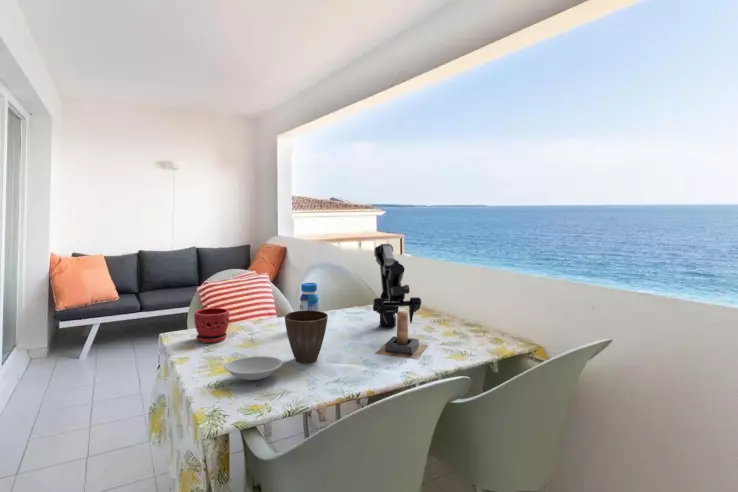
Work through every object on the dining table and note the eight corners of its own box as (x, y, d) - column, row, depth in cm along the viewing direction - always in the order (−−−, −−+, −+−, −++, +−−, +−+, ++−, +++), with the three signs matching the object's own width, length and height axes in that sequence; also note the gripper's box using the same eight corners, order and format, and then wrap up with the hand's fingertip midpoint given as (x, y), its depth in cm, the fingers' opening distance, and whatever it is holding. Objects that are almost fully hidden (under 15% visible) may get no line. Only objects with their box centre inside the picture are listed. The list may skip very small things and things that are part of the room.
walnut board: (374, 356, 154) (374, 353, 154) (388, 343, 169) (388, 340, 169) (417, 362, 148) (417, 359, 148) (428, 347, 163) (428, 345, 163)
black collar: (385, 352, 155) (385, 343, 155) (393, 343, 165) (393, 336, 164) (411, 355, 152) (411, 347, 152) (418, 346, 161) (418, 339, 161)
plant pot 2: (329, 352, 158) (329, 310, 156) (326, 367, 143) (326, 320, 141) (288, 353, 157) (288, 310, 156) (281, 368, 142) (281, 321, 141)
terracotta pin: (394, 349, 159) (394, 312, 157) (402, 346, 161) (402, 310, 160) (402, 351, 156) (402, 314, 154) (409, 349, 158) (410, 312, 157)
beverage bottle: (317, 331, 185) (317, 285, 183) (298, 331, 185) (297, 285, 183) (320, 325, 193) (319, 282, 191) (301, 325, 193) (301, 282, 191)
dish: (285, 370, 141) (285, 355, 140) (279, 388, 126) (278, 372, 126) (231, 371, 139) (230, 356, 139) (218, 390, 125) (217, 373, 125)
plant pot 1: (218, 345, 165) (218, 315, 164) (188, 343, 168) (187, 313, 167) (235, 335, 178) (235, 307, 177) (207, 334, 181) (206, 306, 180)
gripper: (373, 278, 166) (377, 313, 156) (420, 277, 168) (427, 311, 158) (371, 293, 175) (374, 327, 165) (416, 292, 177) (421, 326, 167)
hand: (399, 323), depth 163 cm, fingers open, 9 cm apart
